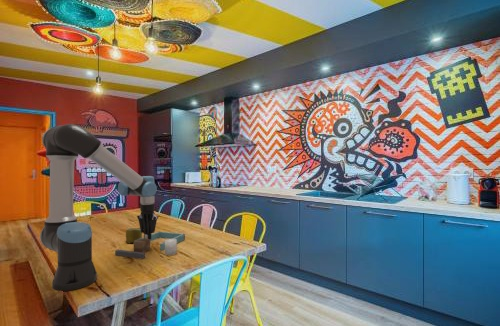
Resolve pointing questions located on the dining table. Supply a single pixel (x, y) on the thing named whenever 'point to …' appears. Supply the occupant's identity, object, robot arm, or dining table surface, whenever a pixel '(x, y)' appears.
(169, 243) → the white rounded capsule
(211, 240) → the dining table surface
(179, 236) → the teal u-shaped frame
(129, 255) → the bar
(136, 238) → the mug
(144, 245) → the walnut block
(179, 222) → the dining table surface
